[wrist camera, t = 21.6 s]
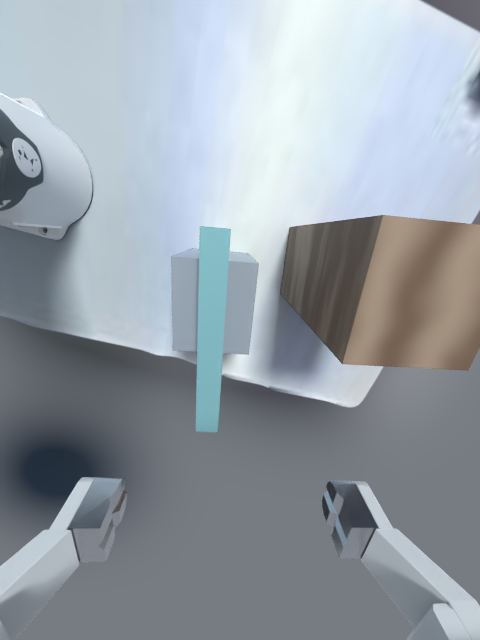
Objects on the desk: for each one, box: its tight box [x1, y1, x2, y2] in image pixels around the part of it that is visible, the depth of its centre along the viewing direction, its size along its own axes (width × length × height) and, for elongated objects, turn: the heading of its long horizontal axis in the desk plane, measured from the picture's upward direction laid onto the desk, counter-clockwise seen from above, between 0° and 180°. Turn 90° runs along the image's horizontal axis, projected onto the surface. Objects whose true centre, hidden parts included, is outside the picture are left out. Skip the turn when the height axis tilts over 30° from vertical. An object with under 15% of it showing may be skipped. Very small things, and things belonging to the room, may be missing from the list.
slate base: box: [171, 248, 259, 354], centre depth 36 cm, size 10×12×16 cm
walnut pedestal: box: [280, 215, 480, 370], centre depth 31 cm, size 12×12×26 cm
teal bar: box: [196, 226, 231, 432], centre depth 28 cm, size 3×26×3 cm, turn 175°
